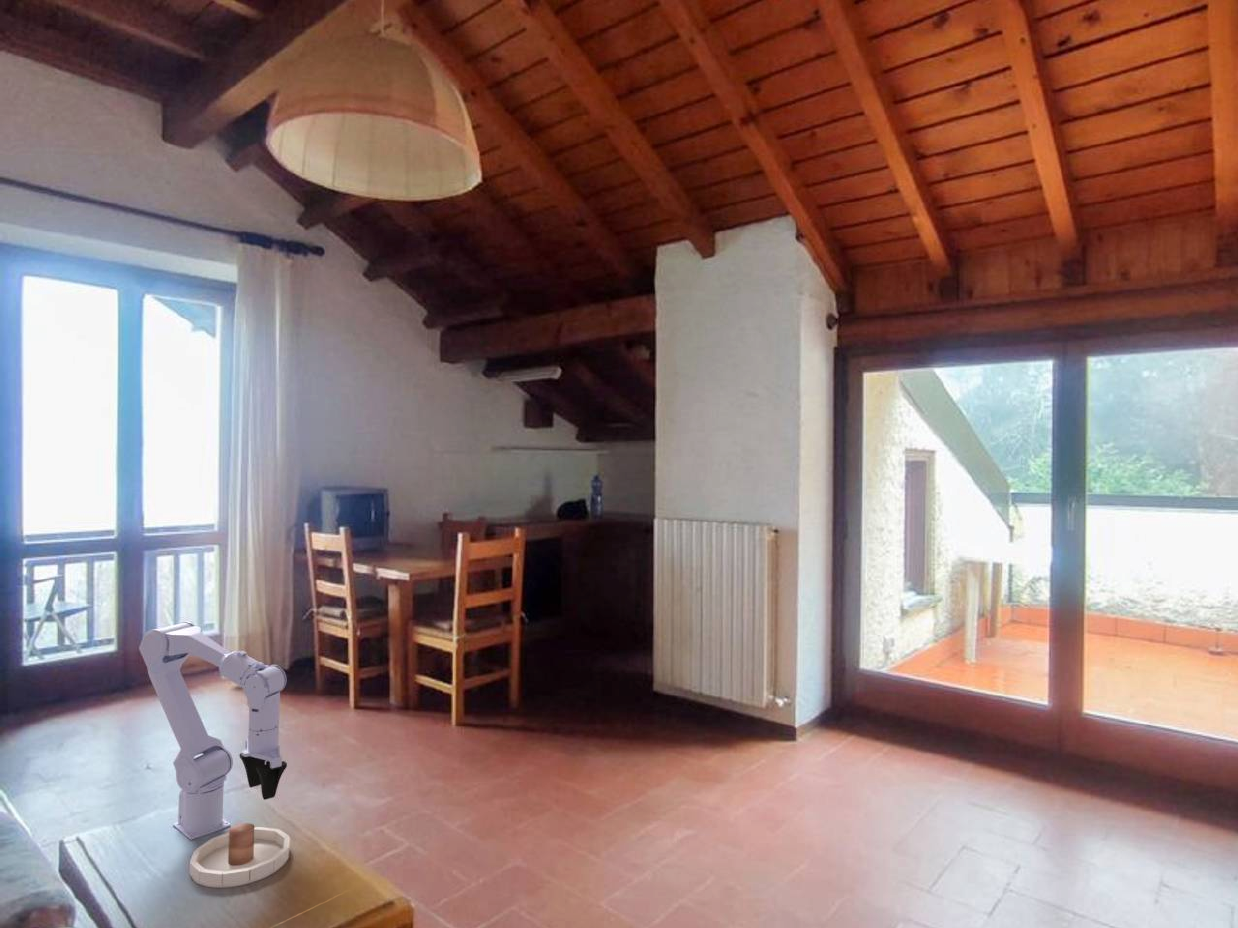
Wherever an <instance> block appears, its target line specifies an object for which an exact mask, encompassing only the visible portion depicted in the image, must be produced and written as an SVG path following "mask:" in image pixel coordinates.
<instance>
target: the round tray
mask: <svg viewBox="0 0 1238 928" xmlns="http://www.w3.org/2000/svg"><path fill="white" fill-rule="evenodd" d="M290 848H291V837H290V835H288V834H287V833H286V832H284V831H282V830H281V829H280V828H271V827H263V826H259V827H258V826H254V858H253V860H252V861H250V862H249V863H246V864H244V865H239V866H233V865H230V864H229V863H228V852H229V831H228V832H225V833H223V834H221V835H217V836H215V837H211V838H210V839H208V840H207V841H206V842H204V843H202V844H201V845H200V846H199V847H197V848H196V849H194V850H193V851H192V855H191V857H190V861H189V870H188V871H189V873H188V874H189V875H190V877H191V879H192V881H194V882H195V883H196V884H198V885H199V886H203V887H206V888H214V889H217V888H218V889H222V888H223V889H224V888H225V889H227V888H235V887H241V886H245V885H248V884H251V883H255V882H258V881H261V880H264V879H265V878H268V877H269V876H271V875H273V874H275V873H276V872H278V871H279V870H280V869H281V868H283V866H284V865H285V864H286V863H287V862H288V860H289V857H290Z"/></svg>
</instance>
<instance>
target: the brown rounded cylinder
mask: <svg viewBox="0 0 1238 928" xmlns="http://www.w3.org/2000/svg"><path fill="white" fill-rule="evenodd" d="M254 828H255V825H254V824H253V823H249V822H245V823H239V824H236V825H234V826H232V827H230V829H229V830H228V832H229V852H228V863H229V864H230V865H233V866H239V865H244V864H246V863H249V862H250V861H252V860H253V858H254Z"/></svg>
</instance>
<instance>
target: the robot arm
mask: <svg viewBox="0 0 1238 928" xmlns="http://www.w3.org/2000/svg"><path fill="white" fill-rule="evenodd" d="M202 630H203V629H202V627H200V626H198V625H195V624H194V622H191V621H183V622H180V623H176V624H172V625H169V626H164V627H160V628H155V629H154V628H152V629H149V630H148V631H147V632H145V633H144V635H143V637H142V640H141V642H140V644H139V647H138V649H139V651H140V654H141V656H142V659H143V661H144V664H145V666H146V667H147V674H148V677H149V679H150V681H151V684H152V686H153V688H154V690H155V694H156V695H157V698H158V700H159V702H160V705H161V707H162V709H163V712H164V714H165V716H166V718H167V720H168V723H169V725H170V728H171V730H172V732H173V735H174V737H175V739H176V742H177V744H178V746H179V748H180V750H179V752H178V754H177V755H176V757H175V758H174V761H173V763H172V764H173V766H174V768H175V778H176V783H177V786H179V788H180V791H179V795H178V808H177V809H178V812H177V814H178V816H177V821H175V822H174V823H173V824H172V826H173V827H174V828H175V829H177V830H178V831H179V832H180V833H182V834H183V835H184V836H185V837H186V838H188V839H189V840H192V841H193V840H195V839H198V838H201V837H204V836H207V835H209V834H212V833H215V832H218V831H221V830H224V829H227V828H229V827H231V823H230V822H229V821H227V820H226V819H224V818H223V817H224V816H223V815H224V786H225V784H224V782H225V781H226V780H227V775H229V773H230V772H231V770H232V769H233V766H234V760H233V759H234V758H233V756H232V754H231V752H230V751H229V750H228V749H227V748H226V747H225V746H224V744H223V742H222V740H221V739H219V738H216V737H214V736H210V735H209V734H208V732H207V729H206V727H205V724H204V722H203V721H202V720H203V719H202V718H201V716H200V714H199V711H198V709H197V706H196V705H195V702H194V700H193V698H192V695H191V693H190V691H189V688H188V686H187V684H186V681H185V680H184V677H183V675H182V673H181V668H182V666H183V663H185V662H186V660H187V659H188V657H189V656H190V654H192V655H193V656H195V657H197V658H200V659H201V660H204V661H206V662H208V663H210V664H212V665H214V666H216V667H218V671H219V675H220V676H221V677H223V678H225V679H227V680H229V681H230V682H231V683H234V684H235V685H237V686H239V687H241V688H242V691H243V694H244V695H245V697H246V700H247V706H248V711H249V712H248V738H246V739H245V743H244V744H245V745H244V746H245V750H242V751H241V753H240V754H239V758H240V759H241V761H242V763H243V766H244V769H245V774H246V778H247V783H248V786H249V787H250V788H254V787H258V786H260V788H261V795H262V799H263V800H264V801H266V800H269V799H273V798H275V797H276V794H277V791H278V786H279V783H280V780H281V778H282V775H283V773H284V772H285V770H286V769H287V765H288V763H287V762H286V761H285V760H283V756H282V755H281V752H280V744H279V732H280V731H279V730H280V707H281V706H280V704H281V702H280V701H281V698H280V697H281V691H283V690H284V689H285V687H286V685H287V678H288V677H287V675H286V672H285V670H284V669H283V668H281V667H280V666H279V665H278V664H271V665H267V664H265V663H264V662H262V661H259V660H256V659H254V658H253V657H250V656H249V655H248V652H246V651H245V650H234V651H232V652H231V651H229V650H228V649H226V648H224V647H223V646H221V645H220V644H219V643H218V642H216V641H215V640H213V639H212V638H210V637H208V636H207V635H206V634H204V633H203V631H202Z"/></svg>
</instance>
